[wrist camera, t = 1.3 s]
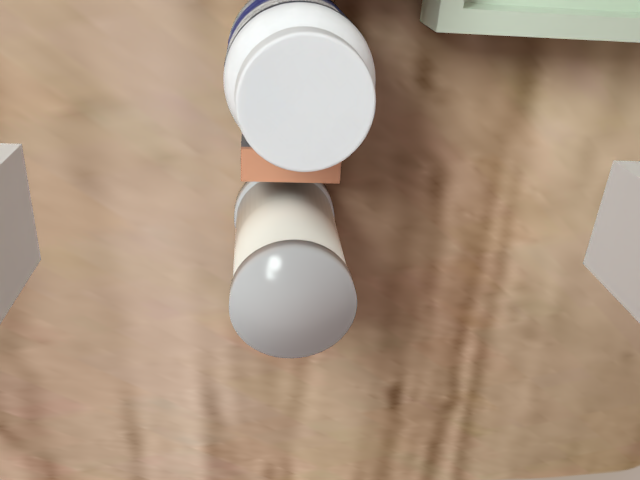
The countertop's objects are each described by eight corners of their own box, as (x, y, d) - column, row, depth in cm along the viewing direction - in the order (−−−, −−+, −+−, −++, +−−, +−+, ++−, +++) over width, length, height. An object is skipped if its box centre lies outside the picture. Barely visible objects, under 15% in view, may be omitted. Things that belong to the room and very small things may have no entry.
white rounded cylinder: (234, 164, 31) (228, 251, 23) (335, 167, 32) (363, 252, 24) (234, 253, 34) (229, 358, 26) (328, 254, 34) (351, 357, 26)
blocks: (244, -339, 22) (242, -390, 18) (364, -325, 23) (386, -371, 19) (242, 290, 35) (240, 336, 31) (319, 290, 35) (326, 336, 32)
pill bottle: (349, 106, 30) (386, 185, 22) (233, 109, 30) (223, 191, 21) (352, -19, 28) (397, 14, 19) (224, -18, 27) (210, 16, 18)
